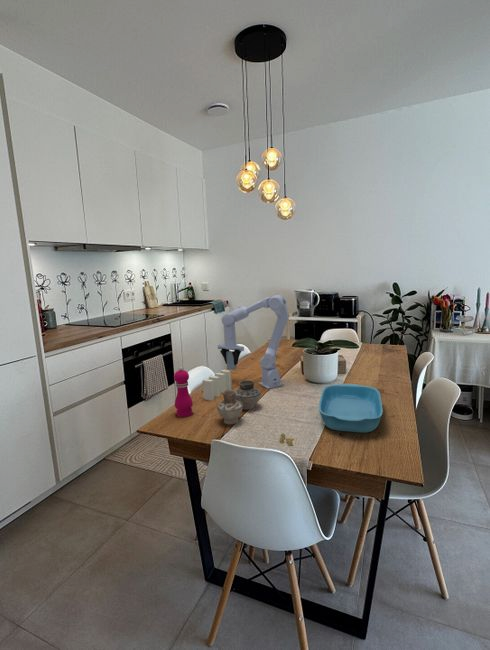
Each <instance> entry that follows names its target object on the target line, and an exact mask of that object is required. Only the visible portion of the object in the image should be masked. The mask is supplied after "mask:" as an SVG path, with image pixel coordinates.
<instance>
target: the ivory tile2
mask: <svg viewBox="0 0 490 650" xmlns="http://www.w3.org/2000/svg"><path fill="white" fill-rule="evenodd" d="M220 373H223V374H225V379H226V390H233V388H232V387H233V386H232V385H233V384H232V371H231V370H229V369H221V370H220Z"/></svg>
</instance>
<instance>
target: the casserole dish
mask: <svg viewBox="0 0 490 650" xmlns="http://www.w3.org/2000/svg"><path fill="white" fill-rule="evenodd" d="M318 411H319V413H320V417H321V420H322V422H323V424H324V425H325V426H326V427H327V428H329V429H330V430H334V431H339V432H350V433H359V434H360V433H363V434H365V433H371V432H373V431H374V430H375V429H376V428H377V427H378V426H379V424H380V421H381V418H382V416H383V414H384V413H383V403H382V397H381V393H380V391H379V390H378V389H377V388H375V387H373V386H368V385H362V384H356V383H339V384H328V385H326V386H325V387H324V388H323V389H322V391H321V394H320V398H319V403H318Z"/></svg>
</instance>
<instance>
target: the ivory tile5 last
mask: <svg viewBox="0 0 490 650" xmlns="http://www.w3.org/2000/svg"><path fill="white" fill-rule="evenodd" d="M202 392H203V400H206V401H209V402H213V401H214V400H215V396H214V383H213V380H209V378H208V379H207V378H203V379H202Z"/></svg>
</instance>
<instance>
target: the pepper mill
mask: <svg viewBox="0 0 490 650" xmlns="http://www.w3.org/2000/svg"><path fill="white" fill-rule="evenodd" d="M189 379H190V374H189V372H188V371H187V370H184V367H182V366H180V367H178V370H177V371H175V373H174V375H173V380H174V382H175V387H176V389H177V390H176V392H177V393H176V396H175V399H174V408H175V409H176V416H177V417H178V416H179V418H186V417H190V416H192V414H193V409H192V407H193V404H194V403H193V398H192V397H191V395H190V393H189V388H188V386H189Z"/></svg>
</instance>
